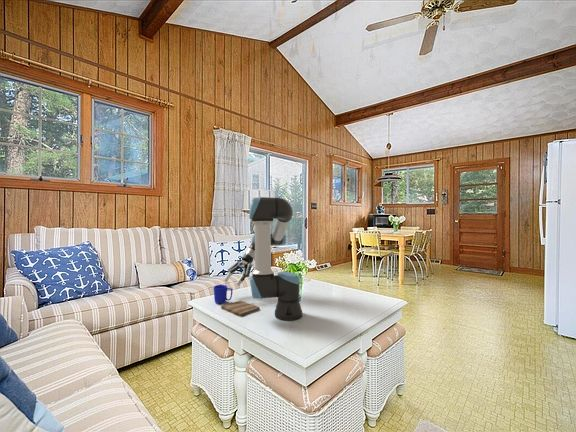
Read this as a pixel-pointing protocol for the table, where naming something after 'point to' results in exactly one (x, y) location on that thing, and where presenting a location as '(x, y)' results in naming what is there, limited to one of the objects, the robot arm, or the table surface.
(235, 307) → the walnut board
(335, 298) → the table surface
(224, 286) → the mug
